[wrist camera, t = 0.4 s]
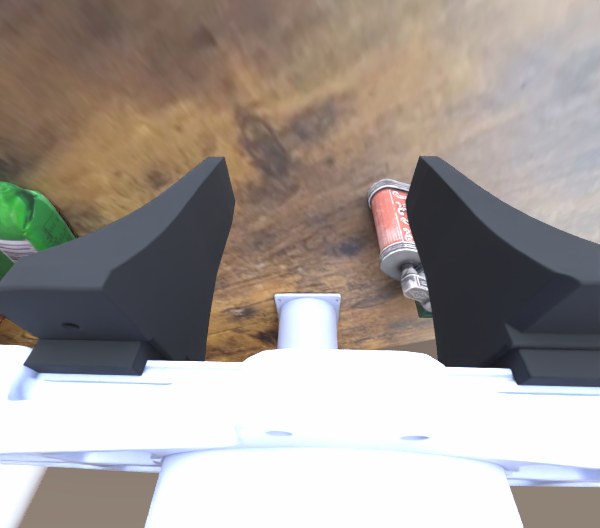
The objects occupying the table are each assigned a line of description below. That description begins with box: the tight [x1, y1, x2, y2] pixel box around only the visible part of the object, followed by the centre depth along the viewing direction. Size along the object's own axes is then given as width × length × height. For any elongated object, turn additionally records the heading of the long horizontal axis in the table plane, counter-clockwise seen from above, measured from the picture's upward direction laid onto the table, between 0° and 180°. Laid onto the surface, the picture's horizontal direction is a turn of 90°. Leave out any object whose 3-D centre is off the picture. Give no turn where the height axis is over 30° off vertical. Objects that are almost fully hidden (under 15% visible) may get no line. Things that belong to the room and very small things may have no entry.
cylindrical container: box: [0, 464, 48, 528], centre depth 45 cm, size 7×7×25 cm
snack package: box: [0, 182, 75, 281], centre depth 26 cm, size 7×16×5 cm, turn 171°
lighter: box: [367, 179, 432, 312], centre depth 21 cm, size 8×3×10 cm, turn 65°
